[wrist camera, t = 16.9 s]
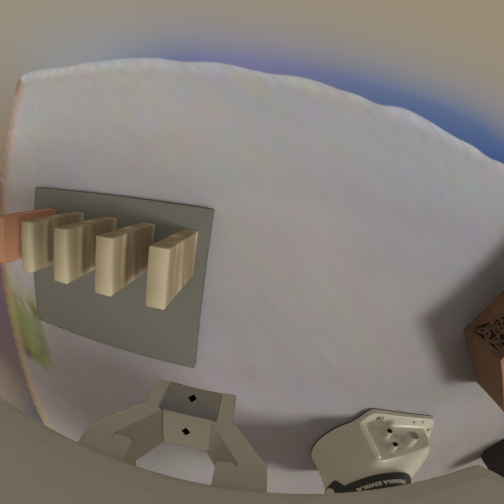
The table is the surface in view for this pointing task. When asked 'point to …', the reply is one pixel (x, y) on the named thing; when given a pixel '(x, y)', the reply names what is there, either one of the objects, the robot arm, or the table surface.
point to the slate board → (133, 294)
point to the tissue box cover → (489, 349)
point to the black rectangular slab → (495, 458)
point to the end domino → (16, 232)
